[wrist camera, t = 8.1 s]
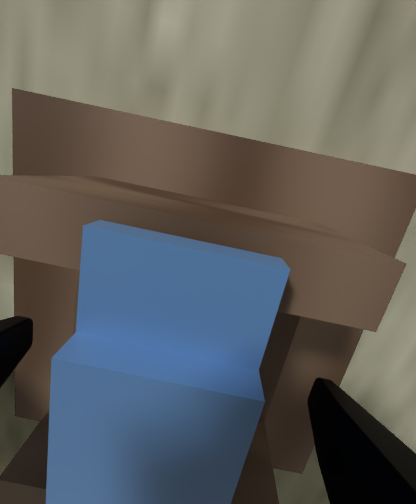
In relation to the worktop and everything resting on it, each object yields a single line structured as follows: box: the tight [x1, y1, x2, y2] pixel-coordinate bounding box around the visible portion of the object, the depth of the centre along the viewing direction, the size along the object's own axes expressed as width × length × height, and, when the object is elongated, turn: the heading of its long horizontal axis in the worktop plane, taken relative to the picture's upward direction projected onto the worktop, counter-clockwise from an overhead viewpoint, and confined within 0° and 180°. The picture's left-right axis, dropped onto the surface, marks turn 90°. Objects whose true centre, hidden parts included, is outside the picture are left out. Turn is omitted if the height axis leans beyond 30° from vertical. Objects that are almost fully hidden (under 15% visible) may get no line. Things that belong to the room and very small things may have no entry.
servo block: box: [46, 220, 290, 504], centre depth 8 cm, size 3×9×6 cm, turn 168°
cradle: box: [0, 88, 416, 504], centre depth 9 cm, size 14×14×5 cm
